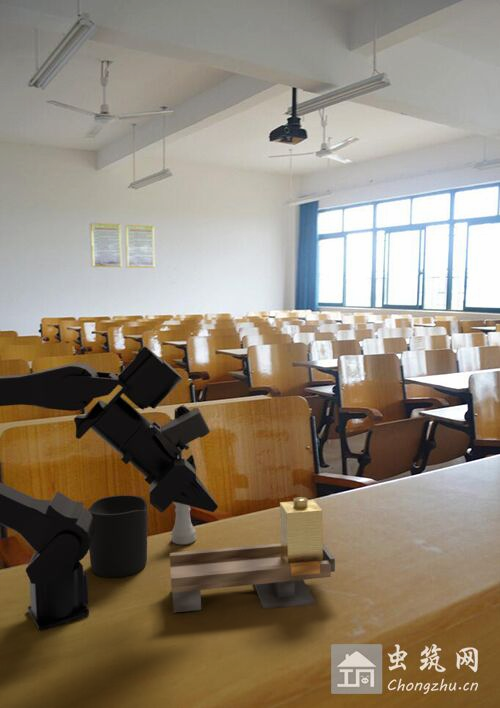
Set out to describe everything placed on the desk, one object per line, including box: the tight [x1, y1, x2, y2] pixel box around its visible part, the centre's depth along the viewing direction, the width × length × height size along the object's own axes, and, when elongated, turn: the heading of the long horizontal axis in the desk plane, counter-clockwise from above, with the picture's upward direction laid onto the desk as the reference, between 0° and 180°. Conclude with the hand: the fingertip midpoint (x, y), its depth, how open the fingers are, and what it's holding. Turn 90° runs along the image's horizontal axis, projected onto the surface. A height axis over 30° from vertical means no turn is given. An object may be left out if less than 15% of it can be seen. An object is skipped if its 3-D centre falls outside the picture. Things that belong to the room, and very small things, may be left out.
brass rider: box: [279, 496, 324, 564], centre depth 81 cm, size 5×5×9 cm
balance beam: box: [169, 542, 336, 613], centre depth 80 cm, size 22×9×6 cm, turn 99°
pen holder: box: [87, 494, 148, 579], centre depth 90 cm, size 9×9×10 cm
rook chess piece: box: [170, 502, 197, 546], centre depth 100 cm, size 4×4×8 cm
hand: (215, 508), depth 79 cm, fingers closed
